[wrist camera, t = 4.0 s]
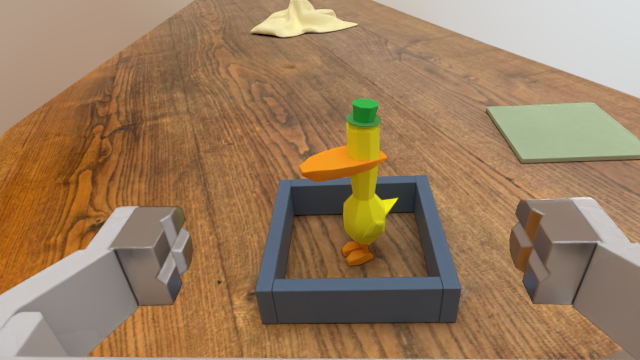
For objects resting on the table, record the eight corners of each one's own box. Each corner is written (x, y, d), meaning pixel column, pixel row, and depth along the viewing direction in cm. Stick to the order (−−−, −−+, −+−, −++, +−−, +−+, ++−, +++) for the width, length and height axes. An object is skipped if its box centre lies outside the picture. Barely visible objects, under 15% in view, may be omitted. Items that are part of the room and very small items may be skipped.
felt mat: (591, 106, 49) (593, 101, 49) (655, 158, 39) (657, 154, 39) (485, 110, 50) (486, 106, 50) (521, 163, 40) (522, 158, 40)
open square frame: (424, 204, 36) (426, 174, 34) (455, 322, 26) (461, 288, 24) (284, 208, 37) (279, 179, 35) (262, 324, 27) (254, 291, 25)
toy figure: (319, 285, 29) (303, 128, 23) (304, 252, 32) (286, 104, 25) (407, 259, 31) (417, 104, 24) (385, 229, 34) (389, 84, 27)
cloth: (247, 40, 84) (241, 8, 81) (259, 18, 99) (255, -10, 96) (359, 32, 83) (359, -1, 79) (354, 12, 98) (354, -17, 95)
